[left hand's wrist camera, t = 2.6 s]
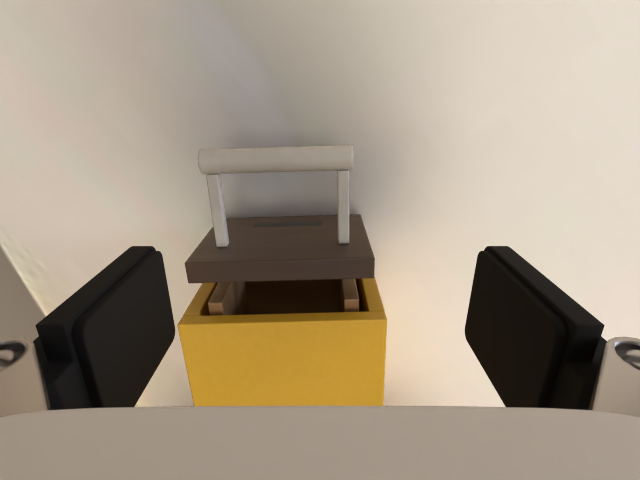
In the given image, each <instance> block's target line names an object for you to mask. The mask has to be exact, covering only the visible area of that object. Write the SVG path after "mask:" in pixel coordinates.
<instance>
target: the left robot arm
mask: <svg viewBox="0 0 640 480" xmlns="http://www.w3.org/2000/svg"><path fill="white" fill-rule="evenodd" d="M36 328H37V331H38V334H39V337H38V338H36V339H35V340H34V341H33V342H32V340H30V339H27V338H25V337H10V338H3V339H0V480H640V339H637V338H630V337H615V338H612V339H610V340H608V342H607V341H606V340H605V339H604V338H602V337H601V334H602V331H603V328H604V325H603V324H602V323H601V322H600V321H599V320H597V319H596V318H595V317H594V316H592V315H591V314H590V313H589V312H588V311H586V310H585V309H584V308H583V307H582V306H580V305H579V304H578V303H577V302H575V301H574V300H573V299H572V298H571V297H569V296H568V295H567V294H566V293H565V292H563V291H562V290H561V289H560V288H558V287H557V286H556V285H555V284H554V283H552V282H551V281H550V280H549V279H548V278H546V277H545V276H544V275H543V274H541V273H540V272H539V271H538V270H537V269H535V268H534V267H533V266H532V265H531V264H529V263H528V262H527V261H526V260H524V259H523V258H522V257H521V256H520V255H518V254H517V253H516V252H515V251H514V250H512V249H511V248H510V247H508V246H488V247H486V248H485V250H484V251H480V252H479V254H478V257H477V263H476V268H475V274H474V280H473V285H472V291H471V297H470V303H469V308H468V314H467V320H466V325H465V336H466V340H467V342H468V343H469V345H470V347H471V348H472V350H473V352H474V354H475V355H476V357H477V359H478V360H479V362H480V364H481V365H482V367H483V369H484V371H485V372H486V374H487V376H488V377H489V379H490V381H491V382H492V384H493V386H494V388H495V389H496V391H497V393H498V394H499V396H500V398H501V399H502V401H503V403H504V405H505V406H506V407H464V406H176V407H134V406H135V405H136V403H137V401H138V399H139V398H140V396H141V394H142V393H143V391H144V389H145V388H146V386H147V384H148V382H149V381H150V379H151V377H152V376H153V374H154V372H155V371H156V369H157V367H158V365H159V364H160V362H161V360H162V359H163V357H164V355H165V354H166V352H167V350H168V348H169V347H170V345H171V343H172V342H173V340H174V336H175V325H174V320H173V314H172V308H171V303H170V297H169V291H168V285H167V280H166V274H165V268H164V263H163V257H162V254H161V252H160V251H156V250H155V248H154V247H152V246H132V247H130V248H129V249H128V250H126V251H125V252H124V253H123V254H122V255H120V256H119V257H118V258H117V259H116V260H114V261H113V262H112V263H111V264H109V265H108V266H107V267H106V268H105V269H103V270H102V271H101V272H100V273H99V274H97V275H96V276H95V277H94V278H92V279H91V280H90V281H89V282H88V283H86V284H85V285H84V286H83V287H82V288H80V289H79V290H78V291H77V292H75V293H74V294H73V295H72V296H71V297H69V298H68V299H67V300H66V301H65V302H63V303H62V304H61V305H60V306H58V307H57V308H56V309H55V310H54V311H52V312H51V313H50V314H49V315H48V316H46V317H45V318H44V319H43V320H41V321H40V322H39V323H38V324H37V325H36Z"/></svg>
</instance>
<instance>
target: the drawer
mask: <svg viewBox="0 0 640 480" xmlns="http://www.w3.org/2000/svg"><path fill="white" fill-rule="evenodd" d="M198 164H199V168H200V171H201V173H202V174H207V175H206V178H207V185H208V192H209V198H210V205H211V212H212V219H213V227H212V229H211V230H210V231H209V233H208V234H207V235H206V236H205V238H204V239H203V240H202V242H201V243H200V244H199V245H198V247H197V248H196V249H195V251H194V252H193V253H192V254H191V256H190V257H189V258H188V260H187V261H186V262H185V267H186V272H187V278H188V283H215V282H219V283H218V285H217V287H216V289H215V291H214V293H213V295H212V297H211V298H210V300H209V302H208V307H209V313H210V316H217V315H255V314H294V313H332V312H359V297H358V292H357V287H356V281H355V279H364V278H374V261H375V258H374V255H373V252H372V249H371V246H370V243H369V240H368V237H367V233H366V230H365V227H364V224H363V221H362V218H361V215H349V170H352V169H353V165H354V152H353V146H352V145H331V146H299V147H266V148H234V149H202V150H200V151H199V154H198ZM321 170H337V196H338V215H329V216H294V217H259V218H226V215H225V208H224V200H223V193H222V185H221V178H220V174H221V173H254V172H288V171H321Z"/></svg>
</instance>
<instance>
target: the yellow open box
mask: <svg viewBox="0 0 640 480" xmlns="http://www.w3.org/2000/svg"><path fill="white" fill-rule="evenodd" d="M355 281H356V287H357V292H358V297H359V312H332V313H294V314H255V315H217V316H210V313H209V307H208V302H209V300H210V298H211V297H212V295H213V293H214V291H215V289H216V287H217V285H218V283H219V282H215V283H203V284H202V285H201V287H200V288H199V290H198V292H197V293H196V295H195V297H194V298H193V300H192V302H191V303H190V305H189V307H188V308H187V310H186V312H185V313H184V315H183V317H182V318H181V320H180V322H179V323H178V330H179V335H180V340H181V344H182V349H183V354H184V359H185V364H186V368H187V373H188V378H189V383H190V388H191V392H192V397H193V402H194V406H383V397H384V375H385V353H386V331H387V318H386V315H385V312H384V308H383V304H382V301H381V297H380V294H379V291H378V287H377V284H376V280H375V277H374V278H364V279H355Z"/></svg>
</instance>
